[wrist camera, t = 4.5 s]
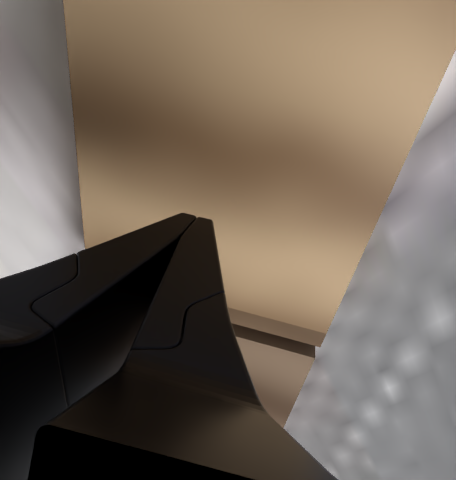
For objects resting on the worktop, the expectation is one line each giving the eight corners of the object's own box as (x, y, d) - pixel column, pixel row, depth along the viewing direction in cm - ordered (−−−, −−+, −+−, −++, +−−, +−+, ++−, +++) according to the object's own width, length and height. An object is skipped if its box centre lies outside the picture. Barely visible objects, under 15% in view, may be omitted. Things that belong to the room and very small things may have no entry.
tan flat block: (273, 419, 21) (269, 457, 19) (117, 373, 22) (99, 405, 20) (315, 320, 16) (315, 358, 14) (113, 266, 17) (89, 295, 15)
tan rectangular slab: (319, 313, 16) (320, 347, 14) (110, 258, 17) (88, 284, 15) (456, -15, 9) (488, -24, 7) (97, -76, 10) (54, -96, 8)
